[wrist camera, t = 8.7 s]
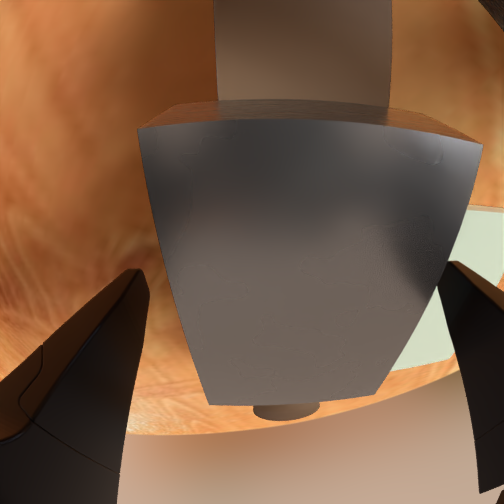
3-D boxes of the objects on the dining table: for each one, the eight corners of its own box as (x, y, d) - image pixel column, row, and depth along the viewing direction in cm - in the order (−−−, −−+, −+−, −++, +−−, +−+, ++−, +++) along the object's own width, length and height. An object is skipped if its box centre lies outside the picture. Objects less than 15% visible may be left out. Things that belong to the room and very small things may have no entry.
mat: (523, 210, 12) (528, 215, 11) (446, 353, 20) (448, 359, 19) (355, 198, 12) (360, 204, 11) (315, 373, 20) (316, 380, 20)
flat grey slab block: (421, 113, 6) (483, 144, 4) (360, 342, 11) (374, 394, 9) (175, 104, 6) (137, 128, 4) (213, 349, 11) (209, 404, 9)
